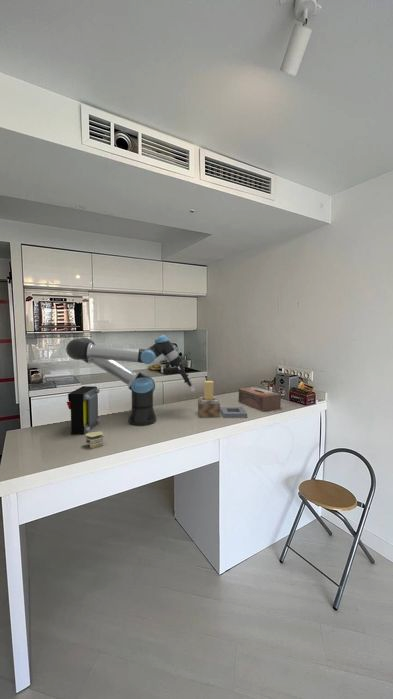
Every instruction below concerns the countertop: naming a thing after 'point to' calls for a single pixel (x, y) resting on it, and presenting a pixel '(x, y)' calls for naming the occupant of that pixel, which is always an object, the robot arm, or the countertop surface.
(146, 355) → the robot arm
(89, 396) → the electrical component
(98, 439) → the beige layered block
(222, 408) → the lower jack plate
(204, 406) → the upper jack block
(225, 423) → the countertop surface
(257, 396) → the tissue box cover
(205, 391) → the pale yellow tall block
